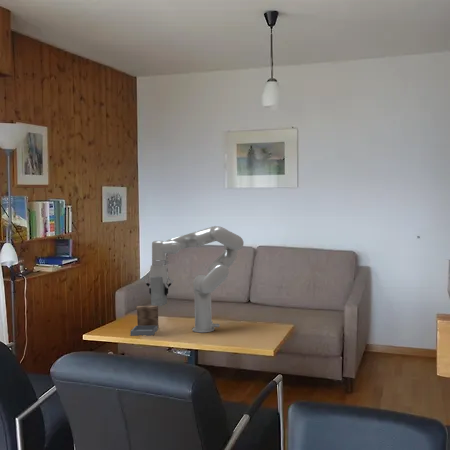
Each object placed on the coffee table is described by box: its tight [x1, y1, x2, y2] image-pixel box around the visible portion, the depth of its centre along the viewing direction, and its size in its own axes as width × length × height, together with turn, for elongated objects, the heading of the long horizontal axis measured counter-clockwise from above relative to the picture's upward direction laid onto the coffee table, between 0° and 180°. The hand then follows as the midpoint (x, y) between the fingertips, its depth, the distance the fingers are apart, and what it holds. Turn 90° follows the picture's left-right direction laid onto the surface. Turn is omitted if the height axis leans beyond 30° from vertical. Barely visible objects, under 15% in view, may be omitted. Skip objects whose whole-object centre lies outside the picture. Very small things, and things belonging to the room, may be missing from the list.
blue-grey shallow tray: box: [130, 325, 159, 337], centre depth 307 cm, size 13×14×2 cm
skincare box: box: [150, 277, 168, 307], centre depth 301 cm, size 8×7×16 cm
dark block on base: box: [135, 305, 159, 329], centre depth 316 cm, size 12×4×13 cm, turn 86°
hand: (158, 294), depth 301 cm, fingers closed on skincare box, 7 cm apart
